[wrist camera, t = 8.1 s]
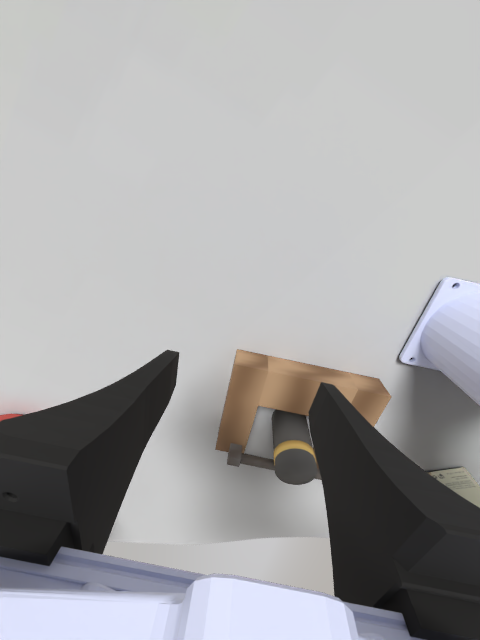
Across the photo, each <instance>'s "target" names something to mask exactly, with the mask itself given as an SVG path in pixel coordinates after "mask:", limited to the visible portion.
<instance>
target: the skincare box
mask: <svg viewBox="0 0 480 640" xmlns="http://www.w3.org/2000/svg"><path fill="white" fill-rule="evenodd" d="M427 473H428V474H430V475H431V476H432V477H434V478H435V479H437V480H438V481H439V482H441V483H442V484H444V485H445V486H447V487H448V488H450V489H451V490H453V491H454V492H456V493H457V494H459V495H460V496H462V497H463V498H465V499H466V500H468V501H470V502H471V503H473V504H474V505H476V506H478V507H479V508H480V486H479V485H478V484H477V482H476V481H475V480H474V479H473V477H472V476H471V475H470V474H469V472H468V471H467V470H466V469H465V468H464V467H461V468H454V469H447V470H440V471H433V472H427Z"/></svg>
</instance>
